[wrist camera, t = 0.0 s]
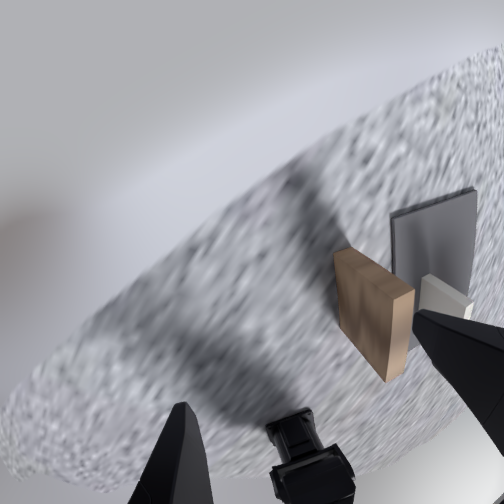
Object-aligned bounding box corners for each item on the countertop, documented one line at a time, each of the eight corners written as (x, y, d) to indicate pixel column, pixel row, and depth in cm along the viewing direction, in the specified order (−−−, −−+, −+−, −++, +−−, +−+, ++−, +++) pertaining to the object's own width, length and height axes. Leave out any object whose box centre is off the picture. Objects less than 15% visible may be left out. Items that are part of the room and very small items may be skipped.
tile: (424, 321, 31) (460, 352, 24) (416, 326, 31) (452, 358, 24) (430, 273, 28) (474, 301, 22) (421, 277, 28) (466, 307, 21)
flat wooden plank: (356, 321, 29) (403, 372, 20) (340, 328, 28) (385, 383, 20) (351, 246, 25) (414, 289, 17) (332, 253, 25) (393, 299, 17)
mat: (461, 313, 35) (463, 314, 34) (387, 360, 33) (389, 362, 32) (474, 189, 27) (477, 190, 26) (391, 218, 25) (394, 219, 25)
